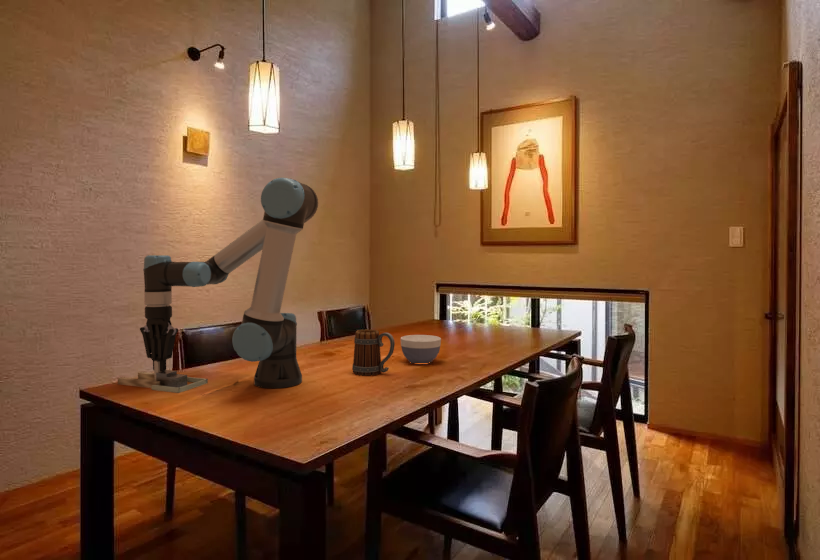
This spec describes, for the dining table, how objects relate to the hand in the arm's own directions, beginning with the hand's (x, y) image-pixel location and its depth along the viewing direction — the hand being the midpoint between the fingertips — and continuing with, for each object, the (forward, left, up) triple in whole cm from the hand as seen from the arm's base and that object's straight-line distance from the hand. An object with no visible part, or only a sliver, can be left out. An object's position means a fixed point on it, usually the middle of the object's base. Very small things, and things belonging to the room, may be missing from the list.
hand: (159, 381), depth 154 cm
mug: (-54, -42, -3) cm, 68 cm away
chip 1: (-3, 0, -1) cm, 3 cm away
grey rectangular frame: (-8, 0, -2) cm, 8 cm away
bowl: (-64, -66, -3) cm, 92 cm away
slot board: (+5, 0, -2) cm, 5 cm away
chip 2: (-7, 0, -2) cm, 7 cm away
